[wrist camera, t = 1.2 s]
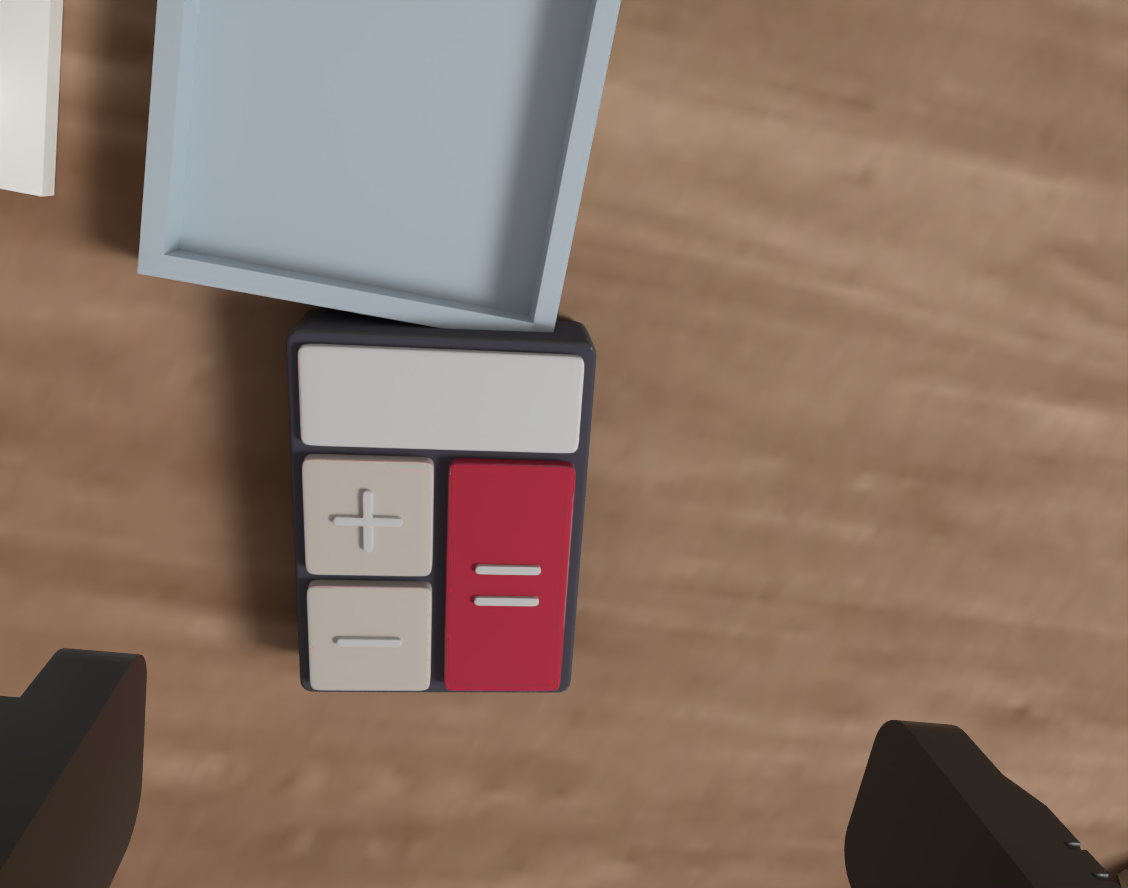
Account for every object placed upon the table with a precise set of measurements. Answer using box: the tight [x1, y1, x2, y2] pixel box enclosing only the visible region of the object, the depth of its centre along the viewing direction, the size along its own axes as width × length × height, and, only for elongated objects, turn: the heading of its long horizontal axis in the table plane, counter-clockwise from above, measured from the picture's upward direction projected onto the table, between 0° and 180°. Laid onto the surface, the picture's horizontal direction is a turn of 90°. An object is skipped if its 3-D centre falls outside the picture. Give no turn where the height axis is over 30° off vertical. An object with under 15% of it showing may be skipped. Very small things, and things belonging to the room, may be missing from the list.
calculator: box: [286, 310, 596, 692], centre depth 36 cm, size 11×4×15 cm
